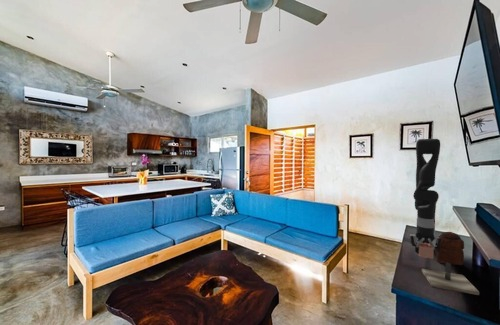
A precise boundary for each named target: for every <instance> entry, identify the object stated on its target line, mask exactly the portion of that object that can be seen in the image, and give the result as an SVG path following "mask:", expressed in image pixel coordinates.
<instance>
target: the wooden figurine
mask: <svg viewBox="0 0 500 325" xmlns="http://www.w3.org/2000/svg"><path fill="white" fill-rule="evenodd" d="M437 237H439V238H440V239H441V244H440V248H439V249H435V252H437V254H436V258H435V259H436V260H435V261H437V262H439V263H440V264H444V265H445V263H446V262H447V263H450V264H451V266H452V265H455V266H462V265H463V263H464V259H465V258H464V257H465V252H464V249H465V241H464V239H462V238H461V237H460V235H458V234H457V233H455V232H452V231H444V232H442V233H441V234H440V235H439V236H437Z"/></svg>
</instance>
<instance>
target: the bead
mask: <svg viewBox="0 0 500 325" xmlns="http://www.w3.org/2000/svg"><path fill="white" fill-rule="evenodd" d="M417 255H418V256H419V257H420V258H424V259H425V258H426V259H434V256H435V255H434V248H433V247H431V245H430V244H427V243H421V245H419V254H417ZM433 255H434V256H433Z"/></svg>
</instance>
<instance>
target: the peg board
mask: <svg viewBox="0 0 500 325" xmlns="http://www.w3.org/2000/svg"><path fill="white" fill-rule="evenodd" d="M444 265H445V266H444V267H445V271H440V270H434V269H433V270H432V269H427V268H421V273H422V274H423V275H424V277H425V279H426V280H427V282H428V283H429V284H430V286H431V287H432V286H433V288H438V289H444V290H449V291H453V292H459V293H464V294H470V295H476V296H480V291H479V290H478V289H477V287H475V286H474V285H473V284H472V283H471V282H470V281H469V280H468V279H467V278H466V276H465V275H463V274H460V273H459V274H458V273H452V264H450V263H447V262H446V263H445V264H444Z"/></svg>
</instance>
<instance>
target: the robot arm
mask: <svg viewBox="0 0 500 325" xmlns="http://www.w3.org/2000/svg"><path fill="white" fill-rule="evenodd" d="M415 152H416V153H415V155H416V167H415V168H416V171H415V190H414V192H413V199H414V208H415V210H416V211H417V213H416V214H417V215H416V217H417V218H416V233H415V234H412V233H410V234H409V240H410V244H411V246H412V247H414V252H415V253H416V254H417V255H418V254H419V245H421V243H427V244H430V245H431V247H433V248H434V255H433V257H434V256H435V255H436V249H439V248H440V244H441V239H440V238H439V237H438V236H436V211H437V210H436V208H437V203H438V200H439V196H440V195H439V193H438V192H437V191H436V190H432V189H430V188H433V187H434V186H435V183H436V173H437V172H436V171H437V167H438V162H439V157H440V152H441V140H440V139H438V138H421V139H417V141H416V144H415ZM424 155H431V156H430V159H429V160H428V161H426V159H425V157H424ZM415 239H416V241H415Z"/></svg>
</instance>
